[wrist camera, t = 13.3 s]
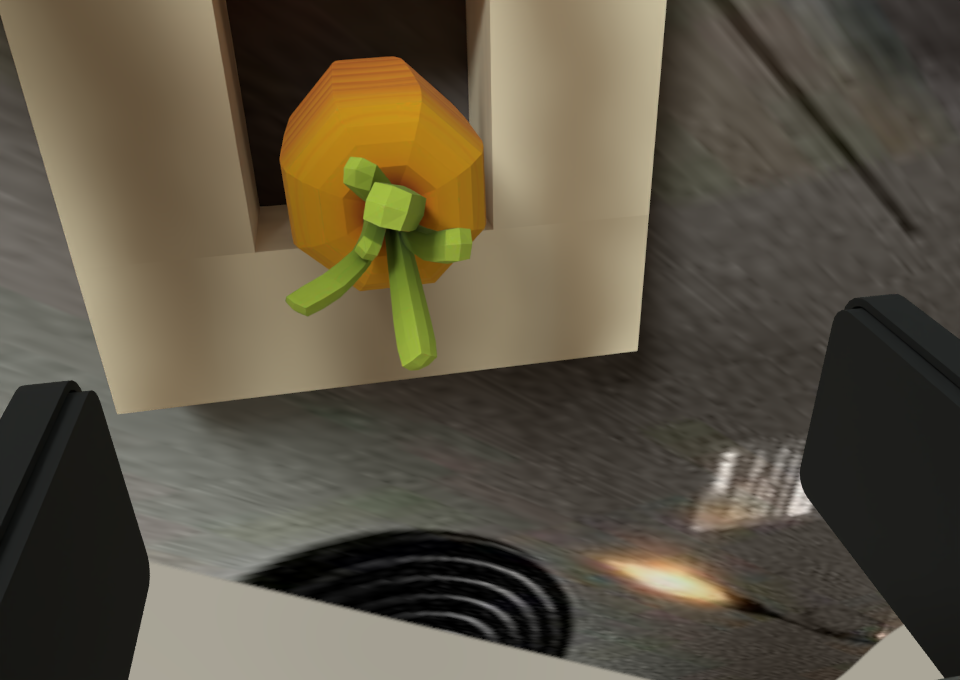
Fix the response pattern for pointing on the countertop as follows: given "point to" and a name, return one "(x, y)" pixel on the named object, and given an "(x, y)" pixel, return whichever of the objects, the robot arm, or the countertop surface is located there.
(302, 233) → the carrot
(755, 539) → the countertop surface
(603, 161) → the maple block
